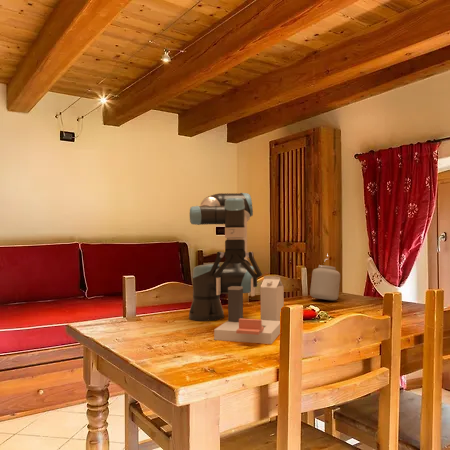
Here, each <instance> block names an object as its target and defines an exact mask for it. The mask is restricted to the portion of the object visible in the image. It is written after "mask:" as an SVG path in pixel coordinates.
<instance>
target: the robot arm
mask: <svg viewBox="0 0 450 450" xmlns="http://www.w3.org/2000/svg"><path fill="white" fill-rule="evenodd" d="M252 201H253V200H252V197H251V194H249V193H246V192H240V193H238V192H237V193H235V192H234V193H232V192H231V193H229V192H227V193H223V192H222V193H215V194H214V193H213V194H211V195H208V196H206V197H205V198H203V200H202V201H201V202H200V205H195V206H190V208H189V222H190V224H191V225H196V226H197V225H198V226H200V225H201V226H202V225H203V226H204V225H224V238H225V241H224V249H225V251H224V252H222V251H218V252H217V251H216V258H215V260H214V262H213V263H207V264H206V263H205V264H201V265H197V266H196V265H195V266H194V267H193V269H192V277H191V278H192V301H191V305H190V308H189V311H188V319H189V320H192V321H199V322H200V321H201V322H212V321H219V320H222V319H224V318H225V313H224V309H223V305H222V303H221V300H220V297H221V296H220V295H221V294H228V287H230V286H243V294H249V293H250V296H251V297H255V296H256V288H257V287H258V278H260V277H262V276H263V274H262V271H261V270H260V267H259V265H258V263H257V261H256V259H255V256H254V252H253V251H248V222H249V221H250V218H251V217H253V215H254V211H253V208H254V207H253V202H252ZM224 257H225V259H224V261H223V263H222V264H221V265H220V263H221V260H222V258H224ZM248 259H249V260H248Z"/></svg>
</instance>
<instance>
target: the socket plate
mask: <svg viewBox="0 0 450 450" xmlns="http://www.w3.org/2000/svg"><path fill="white" fill-rule="evenodd" d="M262 327H264V330H263V331H262V332H261V333H260V334H259V335H255V334H240V333H236V330H237V329H239V322H228V320H226V321H225V322H223V323H222V324H220V325H219V326H217V327H216V328H214V329H213V338H214V339H213V340H214V341H223V342H238V343H251V344H253V343H254V344H264V345H265V344H267V345H272V344H273V343H274V342H275V340H276V339H277V338H278V336H280V334H281V333H280V321H270V320H262Z"/></svg>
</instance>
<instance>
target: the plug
mask: <svg viewBox="0 0 450 450" xmlns="http://www.w3.org/2000/svg"><path fill="white" fill-rule="evenodd" d="M243 294H244V293H243V286H230V287H228V293H227V313H228V314H227V321H228V322H239V319H240V318H241V319H244V299H243V298H244V295H243Z"/></svg>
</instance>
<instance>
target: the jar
mask: <svg viewBox="0 0 450 450" xmlns="http://www.w3.org/2000/svg"><path fill="white" fill-rule="evenodd" d="M326 256H327V257H329V255H328V254H327V255H326ZM326 260H328V258H325V261H326ZM336 268H337V267H335V266H331V265H322V264H321V265H320V264H319V265H318V267H317V268H314V269H313V270H312V271H311V280H310V281H311V283H310V290H309V291H310V292H309V295H310V296H311V297H312V298H314V299H318V300H324V301H325V300H326V301H336V300H338V299H339V293H340V286H341V285H340V283H341V273H340V272H339V271H338V270H336Z"/></svg>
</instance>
